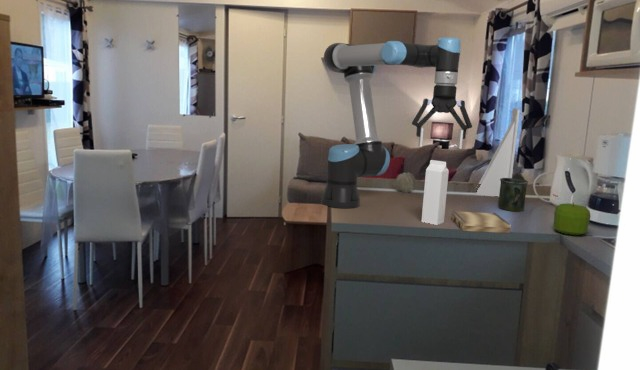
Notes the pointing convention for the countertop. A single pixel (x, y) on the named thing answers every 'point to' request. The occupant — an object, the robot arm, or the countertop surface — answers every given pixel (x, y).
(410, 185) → the grey-green ball
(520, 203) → the mug
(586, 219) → the apple
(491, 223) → the dock
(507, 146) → the white bracket plate
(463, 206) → the countertop surface
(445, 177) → the milk
